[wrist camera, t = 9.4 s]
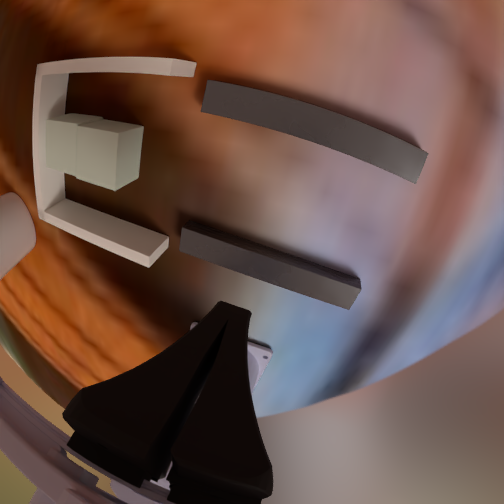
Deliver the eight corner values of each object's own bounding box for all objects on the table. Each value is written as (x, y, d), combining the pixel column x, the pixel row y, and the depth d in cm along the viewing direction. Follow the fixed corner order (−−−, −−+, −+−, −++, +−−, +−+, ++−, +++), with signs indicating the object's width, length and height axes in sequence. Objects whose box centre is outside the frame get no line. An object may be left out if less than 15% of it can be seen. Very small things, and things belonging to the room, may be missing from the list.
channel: (348, 299, 20) (348, 309, 19) (186, 242, 21) (179, 250, 20) (421, 149, 14) (428, 153, 13) (215, 80, 15) (207, 79, 14)
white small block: (139, 177, 20) (115, 190, 17) (101, 166, 20) (76, 178, 17) (145, 125, 17) (118, 133, 15) (104, 119, 18) (77, 126, 15)
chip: (101, 164, 20) (76, 176, 17) (70, 156, 20) (46, 166, 18) (104, 116, 18) (77, 123, 15) (72, 112, 18) (46, 119, 15)
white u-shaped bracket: (168, 247, 22) (149, 267, 20) (60, 205, 23) (39, 218, 20) (196, 62, 14) (173, 58, 12) (63, 61, 15) (37, 64, 13)
